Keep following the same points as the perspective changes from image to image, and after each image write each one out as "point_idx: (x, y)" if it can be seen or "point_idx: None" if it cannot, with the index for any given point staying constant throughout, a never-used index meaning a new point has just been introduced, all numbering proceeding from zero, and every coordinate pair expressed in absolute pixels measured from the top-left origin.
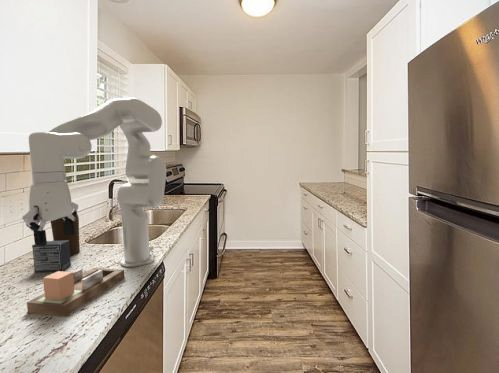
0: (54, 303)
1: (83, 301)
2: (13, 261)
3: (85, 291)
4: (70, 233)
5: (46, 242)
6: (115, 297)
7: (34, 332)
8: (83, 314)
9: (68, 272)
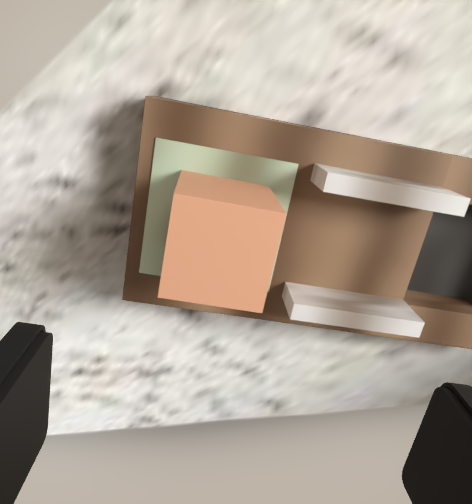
0: (140, 244)
1: None
2: None
3: None
4: (416, 469)
5: (35, 451)
6: (285, 377)
7: (13, 239)
8: (150, 334)
9: (257, 292)
